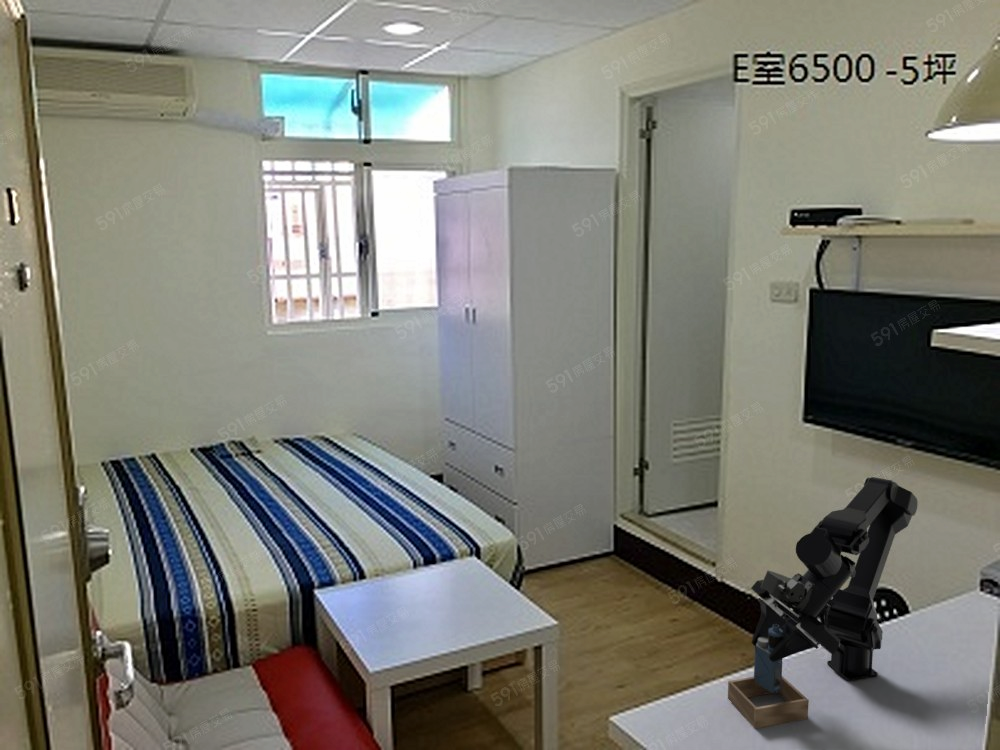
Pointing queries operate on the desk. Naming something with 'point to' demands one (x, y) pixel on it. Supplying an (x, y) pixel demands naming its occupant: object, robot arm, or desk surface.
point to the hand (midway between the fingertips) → (761, 652)
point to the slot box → (771, 713)
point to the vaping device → (768, 661)
